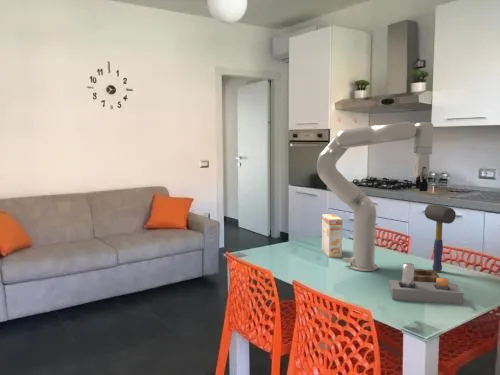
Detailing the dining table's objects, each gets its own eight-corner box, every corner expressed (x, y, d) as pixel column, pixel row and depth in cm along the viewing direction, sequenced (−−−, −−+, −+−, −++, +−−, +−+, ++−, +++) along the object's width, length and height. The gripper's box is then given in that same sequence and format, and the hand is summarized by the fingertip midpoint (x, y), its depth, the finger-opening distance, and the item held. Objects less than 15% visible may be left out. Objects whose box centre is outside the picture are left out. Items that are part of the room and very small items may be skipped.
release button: (437, 294, 158) (437, 280, 157) (434, 290, 162) (435, 277, 161) (449, 294, 157) (449, 281, 156) (446, 290, 161) (447, 277, 160)
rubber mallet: (454, 274, 189) (457, 206, 185) (440, 276, 186) (443, 208, 183) (433, 266, 200) (436, 202, 197) (420, 268, 198) (423, 203, 194)
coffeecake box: (342, 257, 217) (342, 219, 215) (328, 257, 217) (328, 219, 214) (334, 249, 232) (334, 213, 230) (321, 249, 231) (321, 214, 229)
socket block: (392, 302, 158) (392, 288, 158) (389, 292, 168) (389, 279, 167) (462, 306, 154) (463, 293, 153) (455, 296, 163) (455, 283, 163)
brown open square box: (412, 291, 169) (412, 276, 168) (408, 282, 179) (408, 268, 178) (439, 292, 167) (440, 277, 166) (433, 284, 177) (434, 270, 176)
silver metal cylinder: (402, 297, 160) (403, 265, 159) (401, 293, 164) (402, 262, 163) (413, 297, 160) (415, 266, 158) (412, 294, 163) (413, 263, 162)
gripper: (410, 150, 198) (409, 187, 200) (417, 151, 181) (415, 192, 183) (428, 150, 196) (426, 187, 198) (436, 151, 179) (434, 192, 181)
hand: (421, 189), depth 191 cm, fingers open, 9 cm apart
